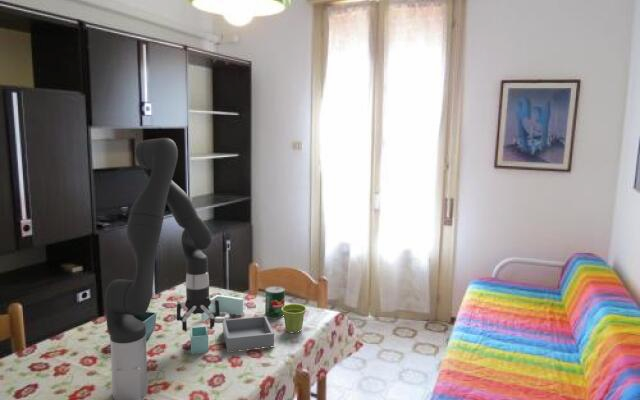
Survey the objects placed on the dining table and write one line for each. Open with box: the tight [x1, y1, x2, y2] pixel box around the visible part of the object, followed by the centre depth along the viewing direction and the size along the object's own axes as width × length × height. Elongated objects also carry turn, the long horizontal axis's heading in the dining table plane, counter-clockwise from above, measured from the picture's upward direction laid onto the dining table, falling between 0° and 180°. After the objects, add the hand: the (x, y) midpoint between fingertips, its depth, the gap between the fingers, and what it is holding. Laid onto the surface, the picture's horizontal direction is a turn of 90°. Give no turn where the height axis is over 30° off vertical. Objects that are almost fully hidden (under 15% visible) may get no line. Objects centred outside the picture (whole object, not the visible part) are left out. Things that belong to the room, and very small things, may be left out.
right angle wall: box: [200, 294, 244, 323], centre depth 184 cm, size 12×12×8 cm
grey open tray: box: [222, 315, 275, 353], centre depth 166 cm, size 16×16×5 cm
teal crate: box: [190, 325, 209, 355], centre depth 159 cm, size 8×6×6 cm
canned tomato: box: [264, 285, 286, 319], centre depth 188 cm, size 8×8×11 cm
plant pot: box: [282, 303, 307, 333], centre depth 174 cm, size 9×9×9 cm
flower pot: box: [132, 311, 157, 341], centre depth 163 cm, size 9×9×9 cm
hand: (198, 329), depth 159 cm, fingers open, 8 cm apart
